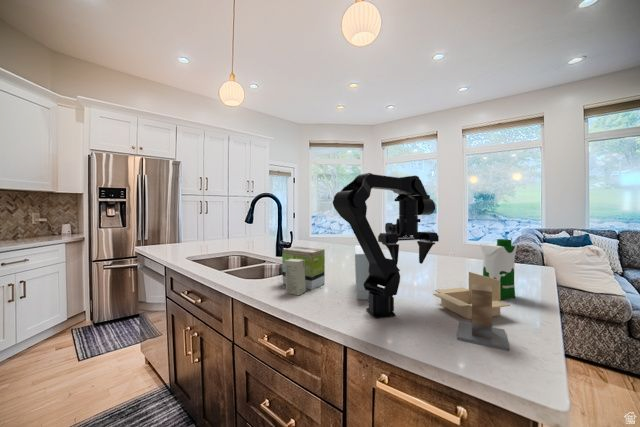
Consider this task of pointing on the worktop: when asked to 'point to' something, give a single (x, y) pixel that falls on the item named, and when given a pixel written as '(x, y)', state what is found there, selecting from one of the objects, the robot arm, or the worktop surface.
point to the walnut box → (482, 311)
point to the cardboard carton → (470, 296)
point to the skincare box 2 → (361, 273)
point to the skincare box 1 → (295, 276)
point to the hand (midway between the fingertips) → (408, 264)
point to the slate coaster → (497, 337)
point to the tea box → (307, 264)
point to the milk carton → (500, 265)
